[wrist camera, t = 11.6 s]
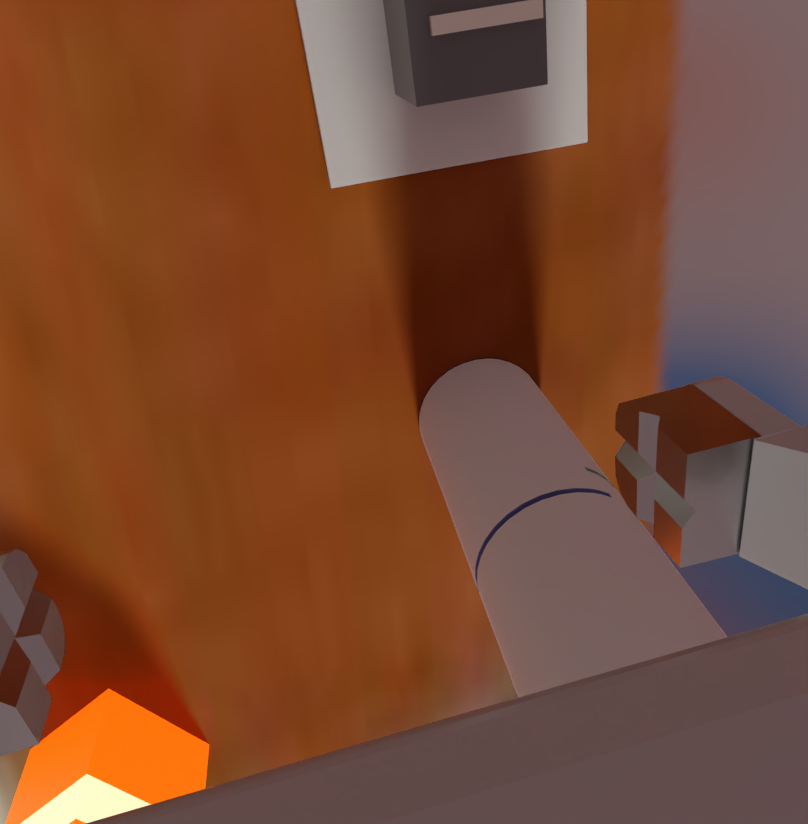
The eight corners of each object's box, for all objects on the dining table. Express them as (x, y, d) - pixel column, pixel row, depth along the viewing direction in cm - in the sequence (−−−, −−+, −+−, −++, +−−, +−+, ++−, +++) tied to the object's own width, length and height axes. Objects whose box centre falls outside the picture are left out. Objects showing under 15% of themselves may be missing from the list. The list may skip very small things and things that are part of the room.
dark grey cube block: (377, -45, 27) (398, -57, 23) (500, -64, 27) (546, -80, 23) (395, 94, 30) (418, 107, 25) (507, 74, 30) (550, 85, 25)
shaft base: (329, 183, 32) (337, 204, 28) (268, -141, 26) (267, -174, 22) (577, 138, 33) (620, 153, 29) (572, -185, 27) (625, -224, 23)
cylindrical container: (437, 348, 37) (671, 791, 15) (557, 369, 39) (918, 790, 17) (405, 461, 40) (561, 962, 18) (518, 475, 42) (781, 947, 20)
